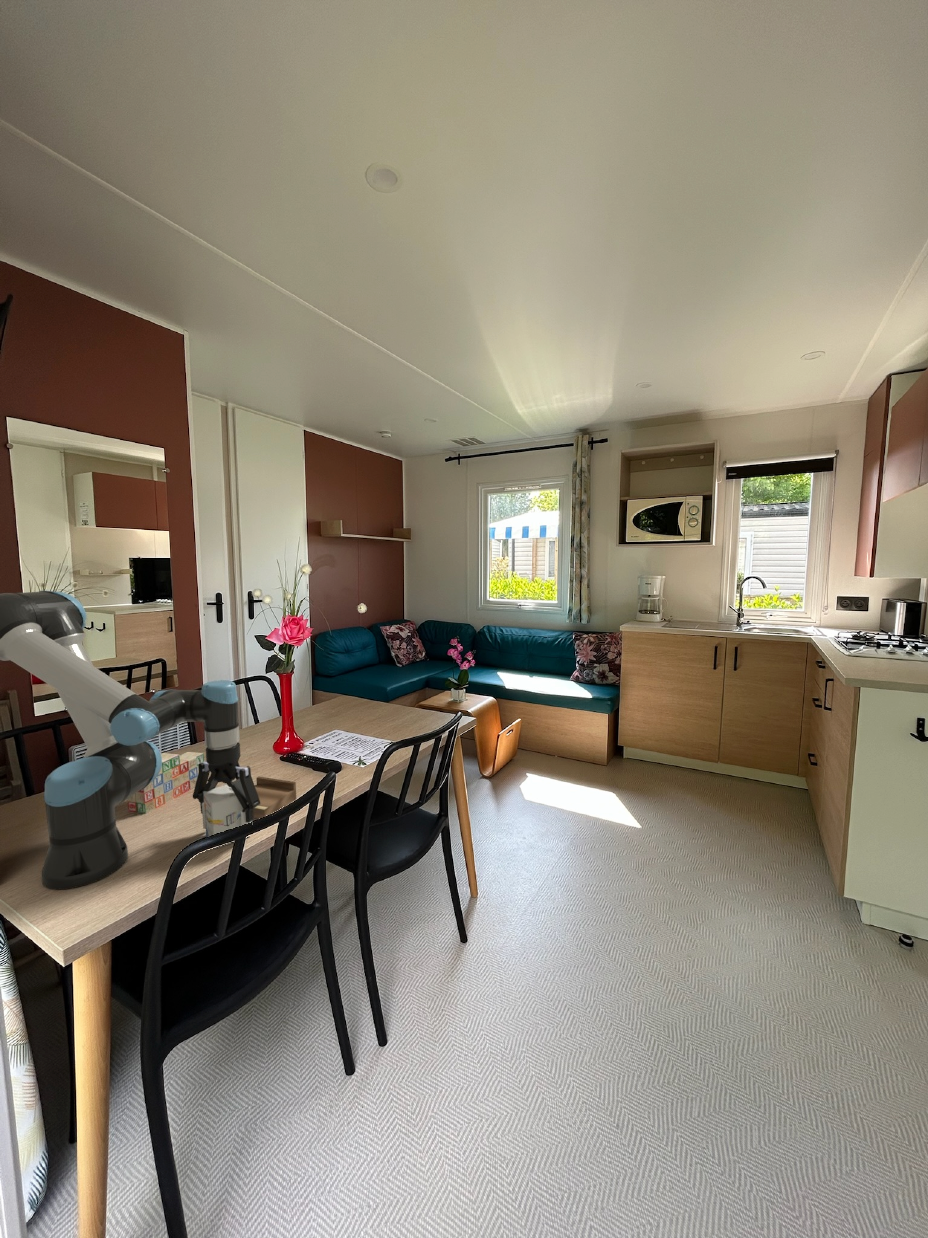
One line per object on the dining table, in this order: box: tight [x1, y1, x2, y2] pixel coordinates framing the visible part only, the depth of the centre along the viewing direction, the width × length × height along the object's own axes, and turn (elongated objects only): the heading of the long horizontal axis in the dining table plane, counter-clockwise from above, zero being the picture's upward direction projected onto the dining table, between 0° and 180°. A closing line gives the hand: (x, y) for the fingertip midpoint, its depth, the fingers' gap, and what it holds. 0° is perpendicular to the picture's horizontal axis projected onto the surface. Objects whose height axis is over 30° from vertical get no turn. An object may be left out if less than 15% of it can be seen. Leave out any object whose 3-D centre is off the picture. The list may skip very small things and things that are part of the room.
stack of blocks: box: [126, 751, 205, 815], centre depth 143 cm, size 21×6×12 cm, turn 165°
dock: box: [253, 776, 297, 820], centre depth 136 cm, size 13×13×5 cm
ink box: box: [203, 784, 248, 849], centre depth 120 cm, size 9×8×12 cm
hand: (227, 829), depth 121 cm, fingers closed on ink box, 11 cm apart
